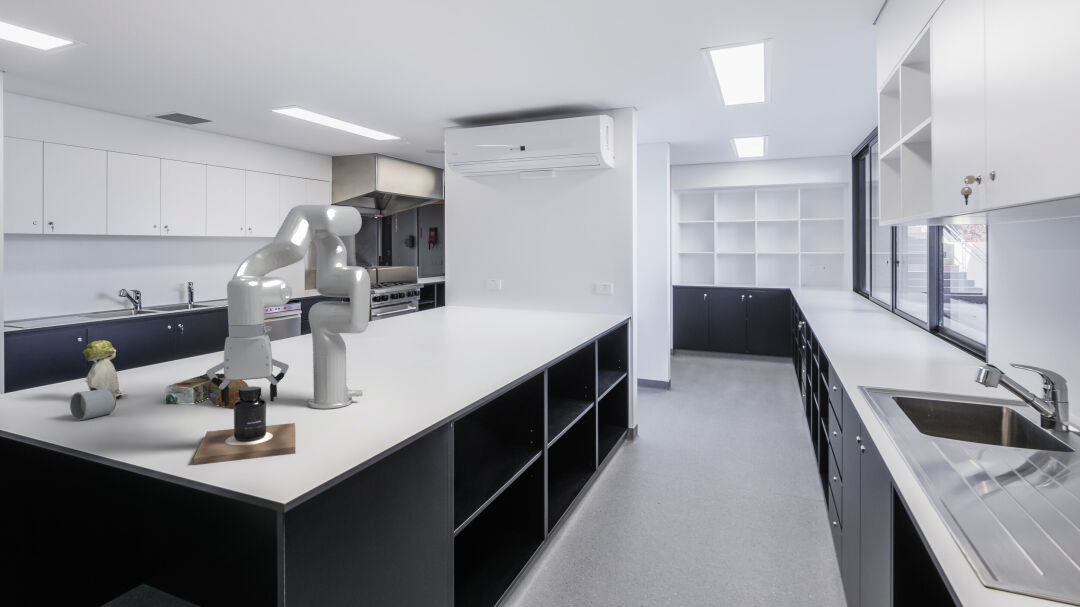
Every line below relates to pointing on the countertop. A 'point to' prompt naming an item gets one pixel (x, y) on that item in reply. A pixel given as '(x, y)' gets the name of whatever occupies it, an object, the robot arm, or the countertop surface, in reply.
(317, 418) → the countertop surface
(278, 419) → the countertop surface
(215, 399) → the tin
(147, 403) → the countertop surface
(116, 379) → the beige figurine with hat
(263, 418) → the supplement bottle
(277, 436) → the walnut board
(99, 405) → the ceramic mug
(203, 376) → the juice carton
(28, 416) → the countertop surface
